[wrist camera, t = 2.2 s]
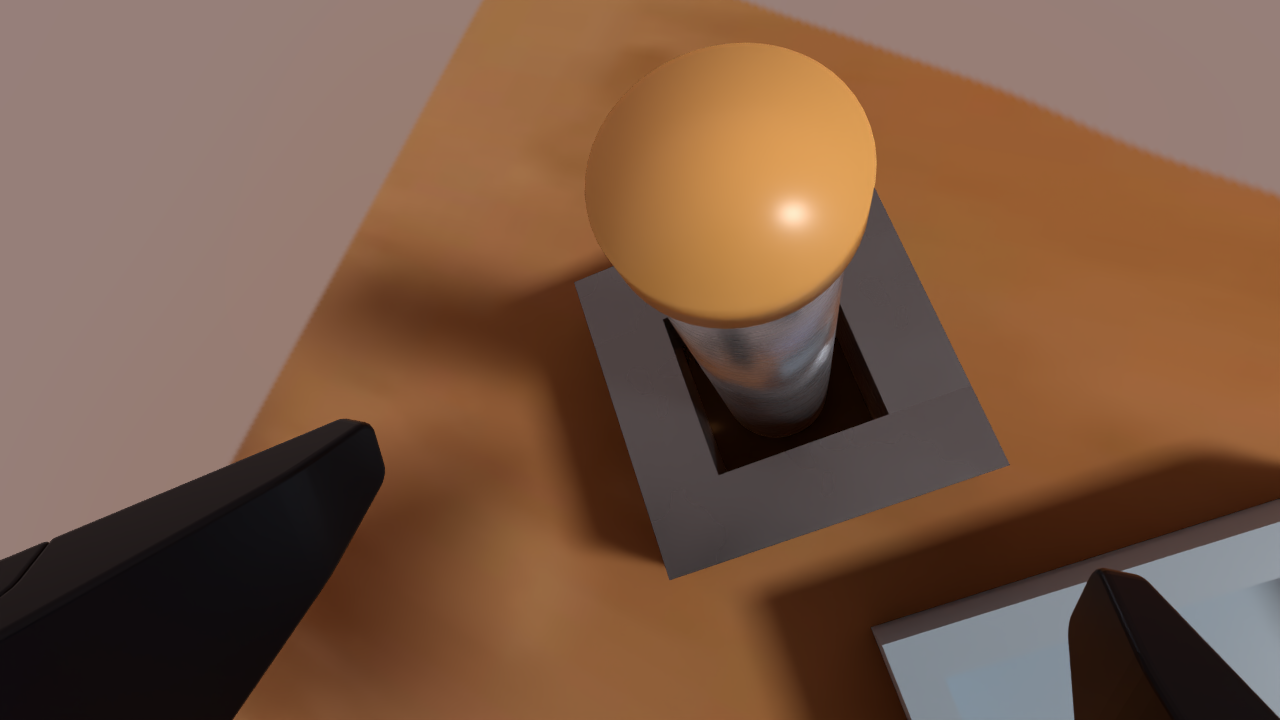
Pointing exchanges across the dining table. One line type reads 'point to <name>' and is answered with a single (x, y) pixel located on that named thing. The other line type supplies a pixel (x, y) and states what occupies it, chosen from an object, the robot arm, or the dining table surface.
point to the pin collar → (812, 473)
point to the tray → (1042, 606)
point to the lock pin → (739, 216)
